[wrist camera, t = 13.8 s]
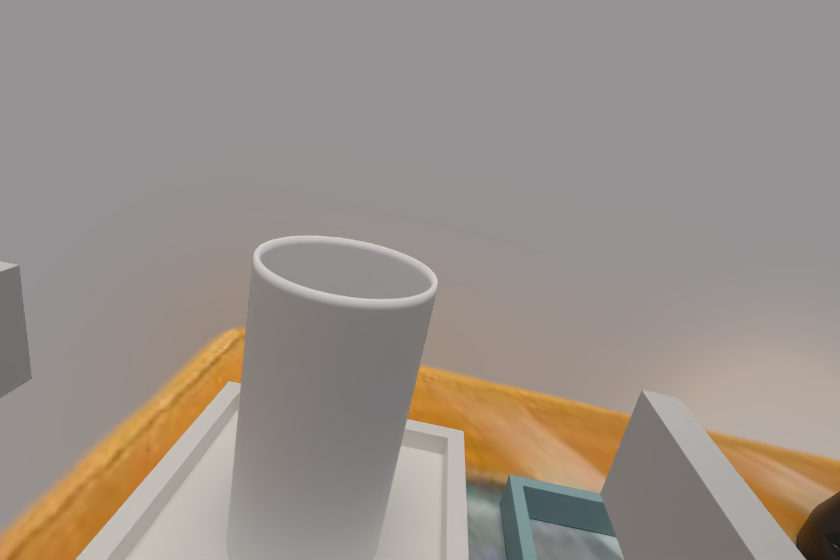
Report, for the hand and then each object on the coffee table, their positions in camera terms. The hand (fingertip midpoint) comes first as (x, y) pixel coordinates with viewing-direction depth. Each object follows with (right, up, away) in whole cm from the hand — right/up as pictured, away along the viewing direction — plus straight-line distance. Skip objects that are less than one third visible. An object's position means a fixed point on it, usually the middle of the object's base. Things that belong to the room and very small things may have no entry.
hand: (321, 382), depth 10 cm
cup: (-4, -12, +16) cm, 21 cm away
